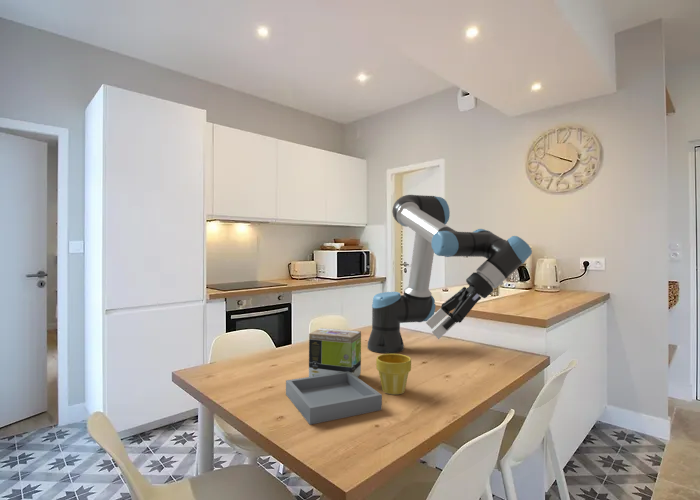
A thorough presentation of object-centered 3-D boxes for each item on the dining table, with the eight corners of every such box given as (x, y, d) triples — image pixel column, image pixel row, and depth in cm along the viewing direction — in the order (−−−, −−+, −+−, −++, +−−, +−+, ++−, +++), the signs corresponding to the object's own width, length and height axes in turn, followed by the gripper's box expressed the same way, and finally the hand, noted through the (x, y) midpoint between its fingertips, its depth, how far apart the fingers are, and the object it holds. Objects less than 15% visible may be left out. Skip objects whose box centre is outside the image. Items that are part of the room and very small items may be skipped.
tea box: (361, 374, 126) (362, 330, 125) (351, 384, 116) (352, 337, 116) (320, 368, 131) (320, 326, 130) (307, 378, 121) (308, 332, 121)
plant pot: (373, 384, 117) (374, 353, 117) (406, 383, 118) (406, 352, 118) (378, 397, 106) (379, 363, 106) (414, 397, 107) (415, 363, 107)
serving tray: (285, 394, 108) (286, 380, 108) (348, 384, 117) (348, 371, 117) (309, 424, 90) (310, 408, 90) (381, 409, 99) (381, 394, 99)
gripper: (508, 294, 97) (448, 350, 98) (482, 285, 121) (434, 330, 123) (487, 273, 97) (427, 329, 98) (465, 269, 122) (418, 313, 123)
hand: (431, 330), depth 110 cm, fingers open, 13 cm apart
